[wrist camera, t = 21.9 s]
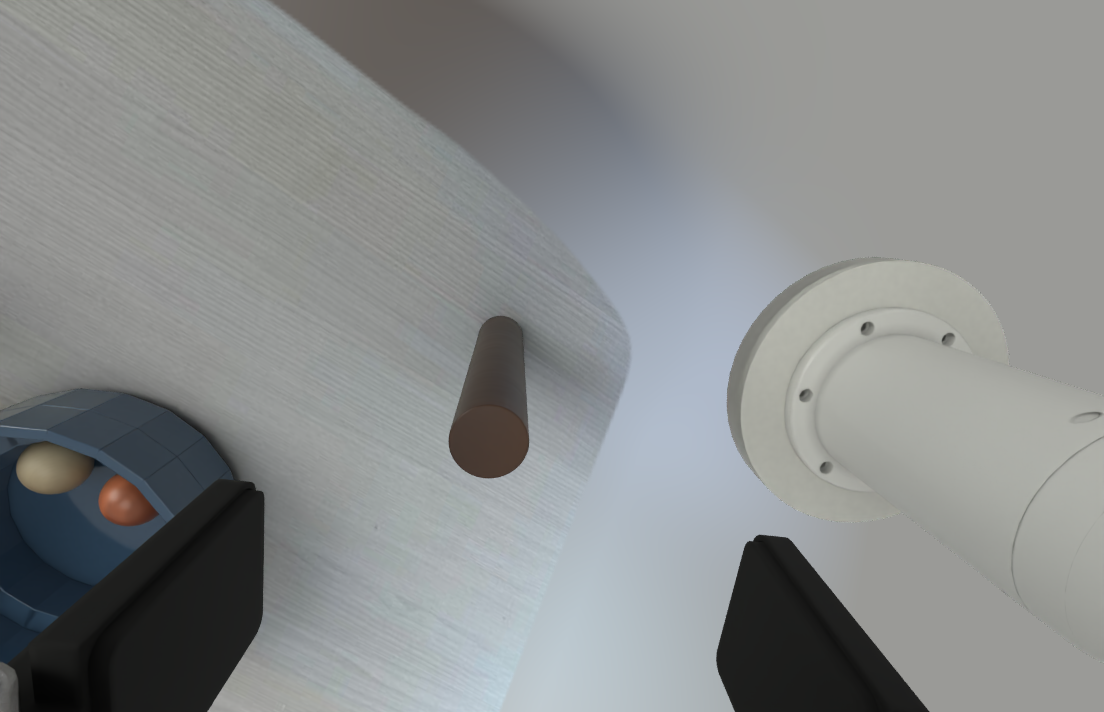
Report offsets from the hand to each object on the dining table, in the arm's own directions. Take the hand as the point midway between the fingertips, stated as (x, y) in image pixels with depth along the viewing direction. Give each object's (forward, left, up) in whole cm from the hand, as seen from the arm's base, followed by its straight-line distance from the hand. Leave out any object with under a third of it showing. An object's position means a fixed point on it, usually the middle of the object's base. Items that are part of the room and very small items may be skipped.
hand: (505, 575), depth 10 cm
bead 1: (+24, +10, -20) cm, 33 cm away
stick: (+1, +1, -22) cm, 22 cm away
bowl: (+22, +14, -22) cm, 35 cm away
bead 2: (+20, +12, -20) cm, 31 cm away
